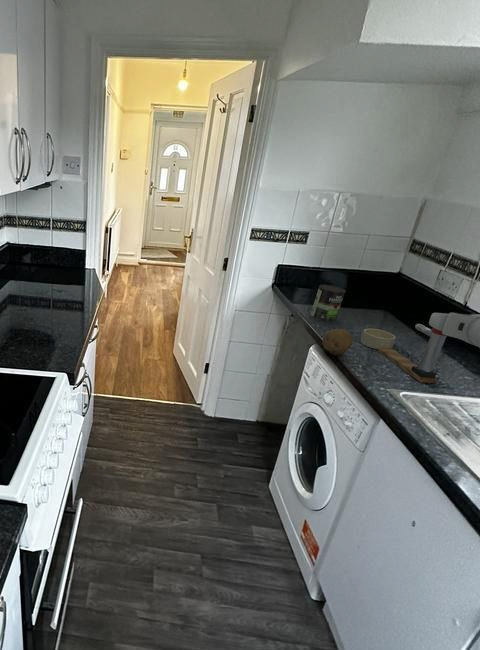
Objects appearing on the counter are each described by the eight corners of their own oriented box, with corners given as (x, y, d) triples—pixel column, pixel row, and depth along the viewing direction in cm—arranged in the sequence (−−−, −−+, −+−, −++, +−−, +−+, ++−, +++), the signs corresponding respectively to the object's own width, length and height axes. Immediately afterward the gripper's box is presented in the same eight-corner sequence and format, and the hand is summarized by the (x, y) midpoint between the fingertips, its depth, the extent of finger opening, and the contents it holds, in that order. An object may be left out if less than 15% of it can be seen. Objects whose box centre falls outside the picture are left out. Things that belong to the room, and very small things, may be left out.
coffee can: (340, 323, 179) (351, 292, 172) (320, 323, 176) (330, 292, 170) (324, 313, 188) (334, 284, 182) (304, 314, 186) (313, 284, 179)
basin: (390, 344, 159) (395, 332, 157) (391, 354, 151) (396, 341, 149) (360, 338, 163) (364, 326, 161) (359, 346, 155) (363, 334, 153)
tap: (435, 377, 132) (455, 331, 125) (420, 377, 132) (440, 330, 125) (410, 360, 142) (427, 317, 136) (396, 360, 142) (413, 316, 136)
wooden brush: (435, 383, 132) (437, 379, 131) (420, 382, 132) (421, 378, 131) (391, 352, 152) (392, 348, 151) (377, 351, 152) (378, 347, 151)
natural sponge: (331, 361, 142) (340, 335, 138) (312, 349, 150) (321, 324, 146) (352, 359, 145) (362, 334, 140) (333, 348, 152) (341, 323, 148)
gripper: (539, 329, 107) (510, 322, 119) (445, 311, 114) (427, 306, 126) (529, 352, 108) (501, 342, 121) (436, 333, 115) (420, 326, 128)
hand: (463, 324), depth 124 cm, fingers open, 8 cm apart
